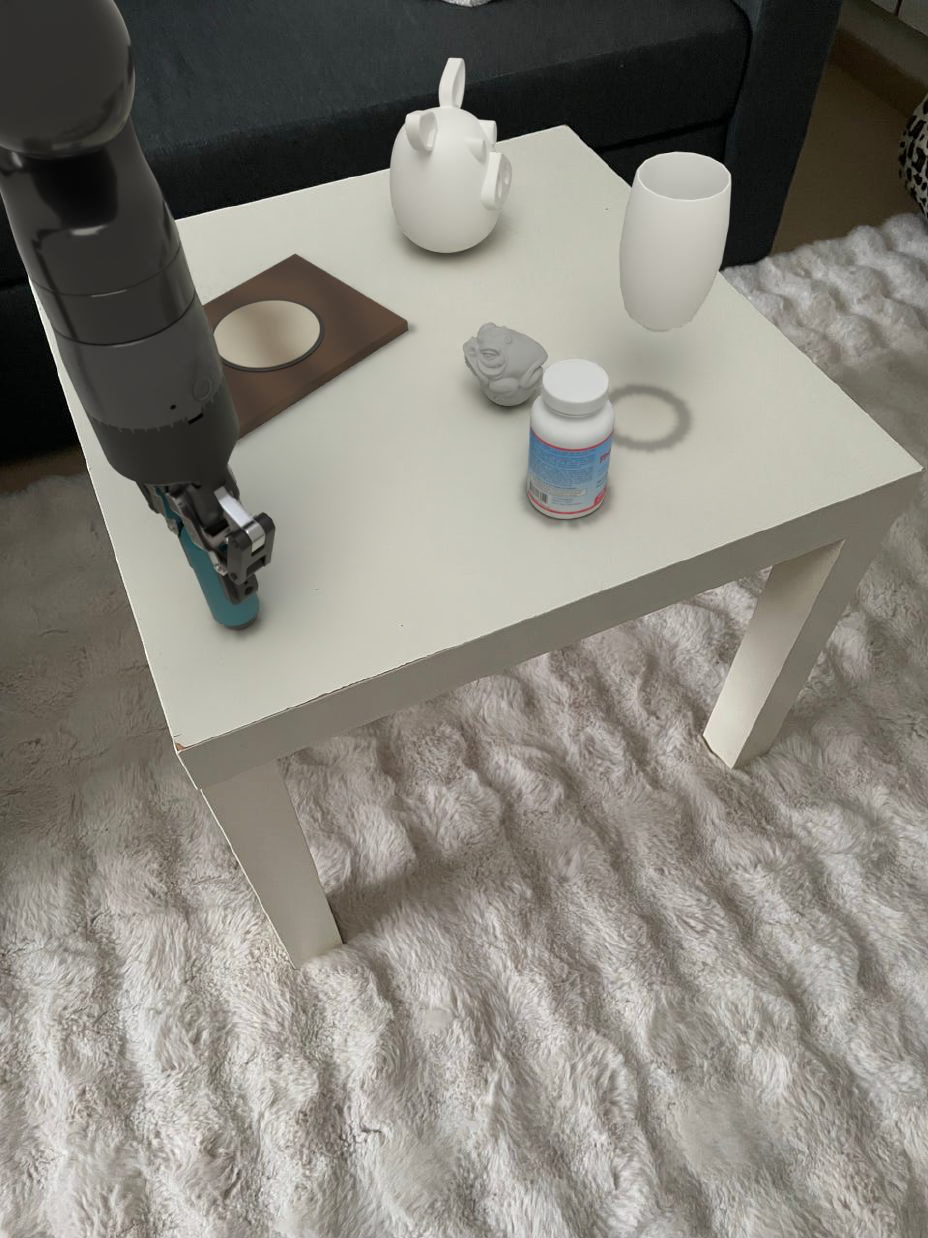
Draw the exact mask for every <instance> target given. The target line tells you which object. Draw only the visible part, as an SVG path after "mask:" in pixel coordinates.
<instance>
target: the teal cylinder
mask: <svg viewBox="0 0 928 1238" xmlns="http://www.w3.org/2000/svg"><path fill="white" fill-rule="evenodd" d="M202 529H203V530H204V529H205V527H203V528H202ZM181 541H182V543H183V545H184V548H185V550H186V553H187V555H188V558H189V560H190V563H191V565H192V567H193V569H192V570H193V572H194V575H195V577H196V579H197V582H198V585H199V588H200V589H201V592H202V594H203V597H204V599H205V602H206V605H207V606H208V609H209V612H210V613H211V615H212V618H213V619H214V620H215V622H217V623H218V624H220V625H223V626H224V627H225V628H227V629H229V630H243V629H245V628H247V627H249V626H251V624H253V623H254V621H255V620H256V618H257V614H258V612H259V609H260V605H261V603H260V602H261V601H260V599H259V598H260V597H259V595H258V591H257V592H255V593H254V594H253V595H251V596H250V597H249V598H247V599H246V600H245V601H243V602H242V603H240V604H238V605H233V604H232V603H231V602H229V601H228V600H227V599H226V597H225V595H224V592H223V589H222V587H221V584H220V582H219V579H218V576H217V574H216V571H215V569H214V567H213V566H214V565H213V563H212V561H211V559H210V557H209V555H208V553H207V552H206V551H204V550H203V549H201V548H200V547H198V546H197V545H196V544H194V543H193V541H192V539H191V537H190V535H189V533H188V531H187V529H186V527H185V525H184V526H183V528H182V531H181ZM227 548H228V544H226V543H225V542H223V543H222V544H221V546H220V549H221V551H222V552H223V551H224V550H226V549H227Z"/></svg>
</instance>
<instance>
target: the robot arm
mask: <svg viewBox="0 0 928 1238" xmlns="http://www.w3.org/2000/svg"><path fill="white" fill-rule="evenodd" d="M136 88H137V69H136V59H135V53H134V48H133V44H132V40H131V37H130V33H129V30H128V28H127V25H126V23H125V20H124V18H123V16H122V14H121V12H120V9H119V8H118V6H117V4H116V2H115V1H114V0H0V195H1V198H2V202H3V204H4V209H5V211H6V215H7V219H8V222H9V225H10V229H11V232H12V235H13V238H14V241H15V242H14V243H15V245H16V248H17V250H18V253H19V256H20V258H21V261H22V263H23V265H24V268H25V271H26V273H27V275H28V277H29V280H30V282H31V284H32V286H33V289H34V290H35V291H34V292H35V293H36V296H37V297H38V300H39V301H40V304H41V306H42V308H43V311H44V313H45V316H46V317H47V320H48V321H49V323H50V327H51V329H52V331H53V335H54V339H55V342H56V345H57V350H58V354H59V357H60V359H61V362H62V364H63V367H64V369H65V372H66V373H67V376H68V378H69V379H70V380H69V381H70V383H71V384H72V387H73V389H74V391H75V393H76V395H77V397H78V400H79V402H80V404H81V406H82V408H83V410H84V413H85V415H86V417H87V420H88V421H89V424H90V425H91V428H92V430H93V432H94V435H95V436H96V439H97V441H98V443H99V445H100V447H101V450H102V452H103V454H104V457H105V458H106V460H107V462H108V464H109V465H110V466H111V467H112V469H113V470H115V472H117V473H118V474H119V475H120V476H122V477H123V478H126V479H128V480H130V481H132V482H134V483H135V484H136V486H137V488H138V489H139V491H140V493H141V495H142V496H143V497H144V499H145V502H146V503H147V506H148V507H149V509H150V510H151V511H152V512H154V513H155V514H156V515H159V514H161V516H162V517H163V518H164V520H165V523H166V527H167V528H168V530H169V531H170V532H172V533H173V534H174V535H176V536H177V538H178V541H179V543H180V546H181V549H182V551H183V553H184V555H185V557H186V560H187V562H188V565H189V567H190V568H191V569H192V570H193V567H192V565H191V563H190V560H189V558H188V555H187V553H186V550H185V548H184V545H183V543H182V541H181V531H182V528H183V526H184V525H185V527H186V529H187V531H188V533H189V535H190V537H191V539H192V541H193V543H194V544H196V545H197V546H198V547H200V548H201V549H203V550H204V551H206V552H207V553H208V555H209V557H210V559H211V561H212V563H213V565H214V566H213V567H214V569H215V571H216V574H217V576H218V579H219V582H220V584H221V587H222V589H223V592H224V595H225V597H226V599H227V600H228V601H229V602H231V603H232V604H233V605H238V604H240V603H242V602H243V601H245V600H246V599H247V598H249V597H250V596H251V595H253V594H254V593H255V592H257V593H258V591H259V582H258V578H257V576H256V573H257V572H258V571H259V570H261V569H263V567H264V568H265V567H266V566H268V565H269V564H270V563H271V562H272V556H273V549H274V542H275V536H276V525H275V523H274V520H273V519H272V517H271V516H270V515H268V514H267V513H266V512H264V511H262V512H261V513H259V514H258V515H257V514H255V515H254V516H252V515H251V514H250V513H249V512H248V511H247V510H246V509H245V507H244V505H243V503H242V500H241V499H240V497H241V493H240V488H239V486H238V481H237V479H236V476H235V474H234V472H233V469H232V467H231V466H230V464H229V461H230V459H231V456H232V454H233V452H234V449H235V447H236V444H237V442H238V440H239V439H238V435H239V421H238V417H237V413H236V410H235V406H234V403H233V399H232V396H231V392H230V389H229V386H228V382H227V379H226V375H225V372H224V368H223V365H222V361H221V358H220V354H219V351H218V348H217V344H216V341H215V337H214V334H213V330H212V327H211V324H210V321H209V318H208V316H207V314H206V312H205V309H204V307H203V305H204V304H202V301H201V299H200V297H199V294H198V292H197V289H196V286H195V284H194V281H193V277H192V274H191V271H190V267H189V264H188V260H187V256H186V253H185V250H184V247H183V244H182V240H181V236H180V231H179V228H178V226H177V223H176V219H175V217H174V214H173V212H172V209H171V207H170V204H169V202H168V200H167V197H166V196H165V193H164V191H163V189H162V187H161V185H160V183H159V181H158V179H157V177H156V176H155V173H154V172H153V170H152V168H151V167H150V165H149V163H148V160H147V158H146V156H145V154H144V150H143V148H142V146H141V142H140V139H139V136H138V133H137V129H136V126H135V122H134V118H133V115H132V112H131V111H132V108H133V105H134V101H135V95H136ZM237 439H238V440H237ZM203 527H205V529H204V530H203V529H202V528H203ZM223 542H225V543H226V544H228V548H227V549H226V550H224V551H223V552H222V551H221V549H220V546H221V544H222V543H223Z"/></svg>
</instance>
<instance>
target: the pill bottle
mask: <svg viewBox="0 0 928 1238" xmlns="http://www.w3.org/2000/svg"><path fill="white" fill-rule="evenodd" d="M609 387H610V378H609V375H608V373H607V372H606V370H605V369H604V368H603V367H601V366H600V365H599V364H597V363H595V362H593V361H591V360H587V359H582V358H566V359H562V360H559V361H556V362H554V363H553V364H551V365H549V366H548V367H547V368H546V370H545V371H543V375H542V379H541V387H540V395H538V396H537V397H536V399H535V400H534V402H533V404H532V407H531V409H530V415H529V429H528V455H527V480H526V481H527V482H526V491H527V497H528V500H529V501H530V502H531V505H532V506H534V508H536V509H537V510H538V511H539V512H540V513H542V514H544V515H545V516H547V517H549V518H550V517H551V518H554V519H559V520H572V519H577V518H582V517H584V516H588V515H589V514H591V513H593V512H594V511H596V510H597V509H599V507H600V506H601V504H602V503H603V501H604V498H605V495H606V490H607V482H608V476H609V475H608V474H609V468H610V460H611V454H612V453H611V452H612V445H613V439H614V438H613V437H614V431H615V422H616V414H615V410H614V406H613V404H612V403H611V401H610V399H609V394H610V393H609V389H610V388H609Z"/></svg>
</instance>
